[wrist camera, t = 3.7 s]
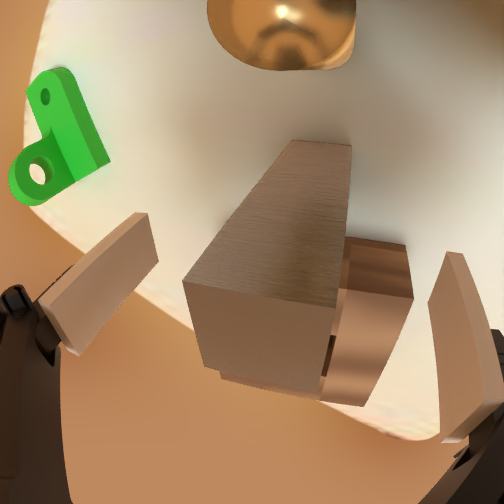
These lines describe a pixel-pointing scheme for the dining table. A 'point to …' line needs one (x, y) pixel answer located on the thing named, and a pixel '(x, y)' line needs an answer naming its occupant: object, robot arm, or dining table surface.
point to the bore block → (359, 323)
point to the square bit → (276, 271)
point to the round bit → (285, 32)
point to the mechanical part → (57, 139)
